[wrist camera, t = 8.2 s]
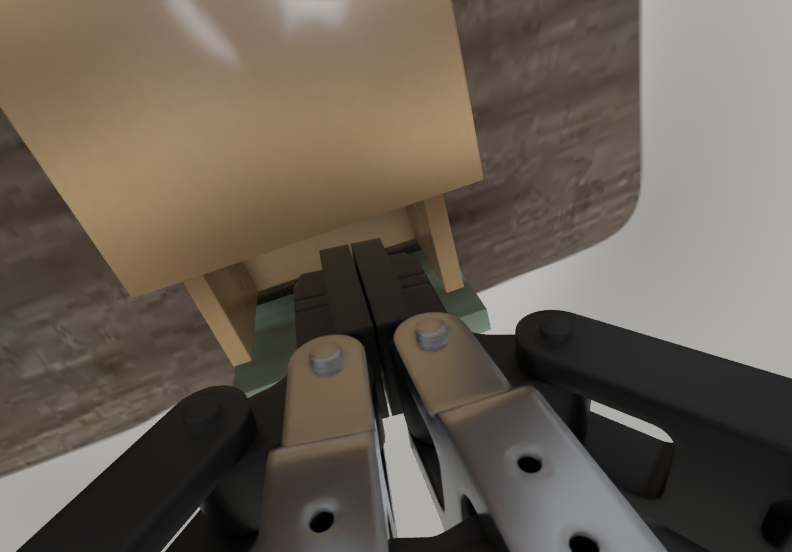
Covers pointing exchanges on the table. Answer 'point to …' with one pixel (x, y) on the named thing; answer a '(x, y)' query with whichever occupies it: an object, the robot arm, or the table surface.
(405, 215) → the drawer
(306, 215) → the cabinet
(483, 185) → the table surface
